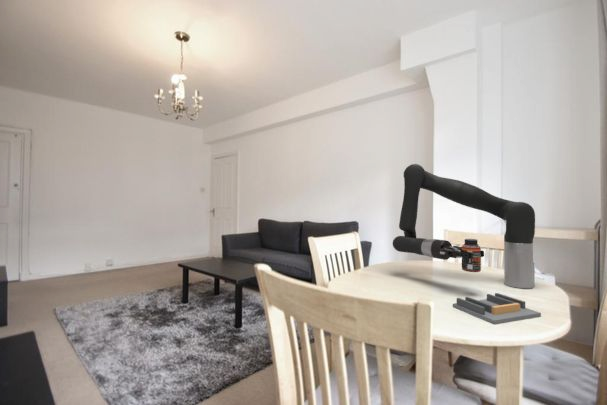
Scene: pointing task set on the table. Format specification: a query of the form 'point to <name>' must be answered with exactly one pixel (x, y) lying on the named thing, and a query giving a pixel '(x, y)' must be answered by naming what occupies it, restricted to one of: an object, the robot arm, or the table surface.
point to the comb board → (496, 308)
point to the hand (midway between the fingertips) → (477, 254)
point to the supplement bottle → (475, 262)
